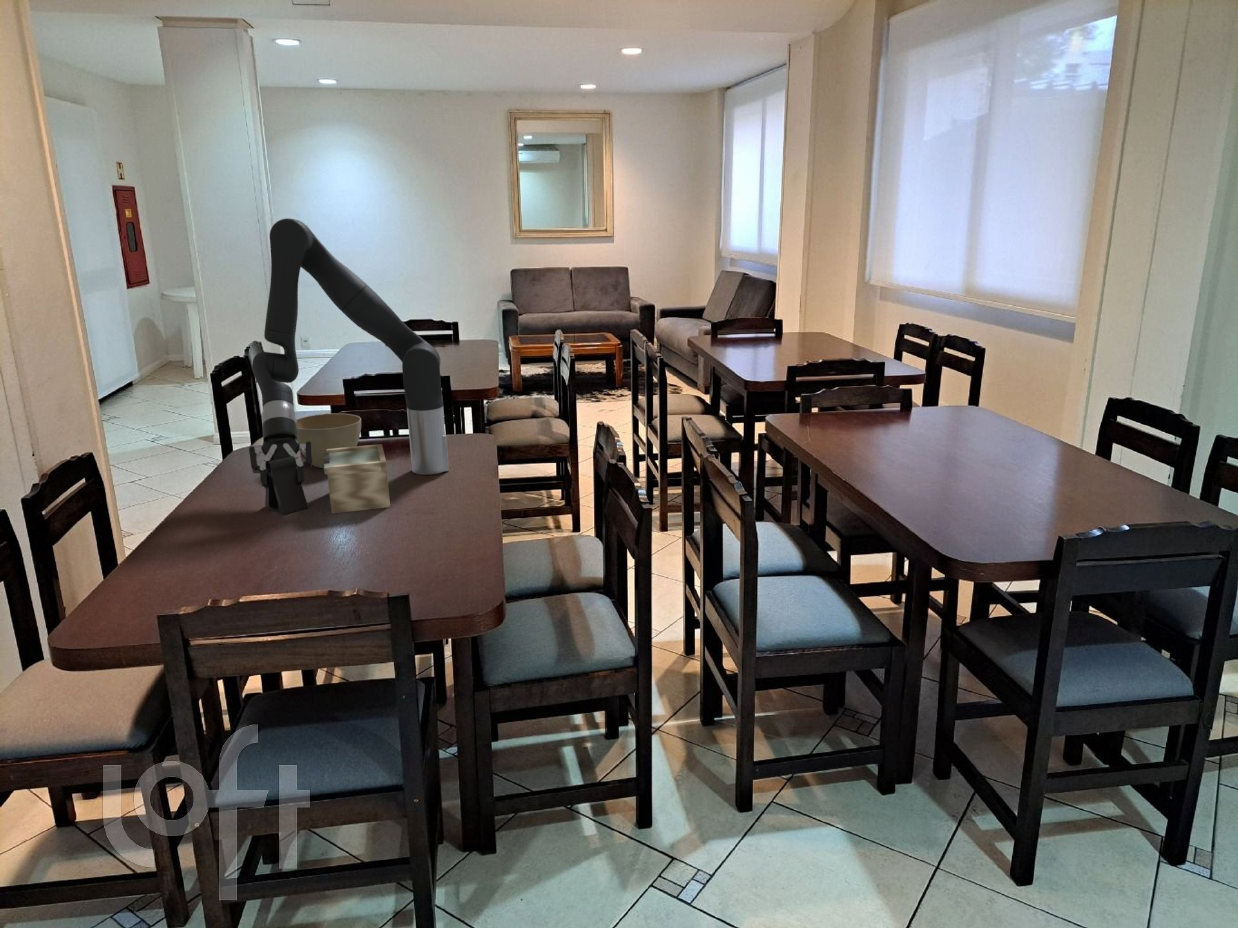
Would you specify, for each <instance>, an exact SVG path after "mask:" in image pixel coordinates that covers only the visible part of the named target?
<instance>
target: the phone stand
mask: <svg viewBox="0 0 1238 928" xmlns="http://www.w3.org/2000/svg"><path fill="white" fill-rule="evenodd" d="M265 466H266V473H267V480H268V488H266V489H265V496H264V497H265V498H264V499H265V501H264V506H265V507H266V508H268V509H270V510H272V511H275V512H276V513H279V514H280V513H281V515H283V516H284V515H288V514H292V513H295V512H298V511H299V512H300V511H303V510H306V509H308V508H309V505H308V501H307V499H306V498H307V497H306V494H305V492H304V488H303V484H302V485H299V484H298V475H297V466H296V460H295V457H294V456H291V455H290V456H286V457H281V458H277V459H273V460H269V461H266V463H265Z"/></svg>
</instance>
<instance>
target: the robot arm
mask: <svg viewBox="0 0 1238 928" xmlns="http://www.w3.org/2000/svg"><path fill="white" fill-rule="evenodd" d="M269 245H270V247H269V248H270V264H271V265H270V286H269V295H268V301H267V309H266V316H265V325H264V334H263V337H264V339H265V341H266V342H269V343H271V344H274V345H278V346H280V347H282V349H283V351H284V353H279V352H278V353H277V352H269V351H260V352H257V353H256V354H255V356H254V357H253V359H252V364H251V366H252V367H251V368H252V372H253V376H254V378H255V380H256V383H257V385H258V388H259V390H260V392H261V400H262V402H261V403H262V410H261V411H262V413H261V423H262V424H261V425H262V442H263V444H262V445H261V446H260V447H255V446H252V445H250V446H249V448H248V450H249V451H248V452H249V453H248V455H249V460H250V468H251V470H252V473H253V474H260V475H259V477H260V479H259V480H260V485H261V486H262V487H264V489H265V490H266V488H268V480H267V473H266V466H265V463H266V461H269V460H273V459H277V458H281V457H286V456H290V455H291V456H294V457H295V460H296V466H297V475H298V484H299V485H302V486H303V484H304V483H305V477H306V476H305V470H306V469H312V467H313V464H312V445H311V442H309V441H308V442H306V444H299V442H298V441H297V428H296V419H297V418H296V417H297V415H296V411H295V406H294V394H293V390H292V389H293V388H291V387H290V385H288V384H290V383H292V382H295V380H296V379H297V377H298V376H299V370H300V368H299V361H298V357H297V351H296V331H297V323H298V314H299V313H298V312H299V300H298V299H299V294H298V292H299V291H298V290H299V277H300V273H301V272H300V271H301V268H302V269H303V270H304V271H305V272H306V273H308V274H309V275H310V276H311V277H312V278H313V279H314V280H315V281H316V282H317V283H318V285H319V287H320V288H321V289H322V290H323V292H324V293H325V294H326V297H328V298H329V299H330V301H331V302H332V303H333V304H334V305H335V306H336V307H337V309H338V310H340V311H341V313H342V314H344V316H346V317H347V318H348V319H349V320H350V321H351V322H353V324H355V325H356V326H357V327H359V328H360V329H361V330H363V331H364V332H366V333H367V334H369V335H371V337H374V338H376V339H377V340H379V341H380V342H382V343H383V344H384V345H385V346H387V347H388V348H389V349H390V350H391V351H392V352H393V354H394V355H396V357H398V359H399V360H400V361H401V362H402V364H401V365H402V366H401V368H402V369H401V370H402V378H403V379H402V380H403V391H404V398H405V403H406V414H407V415H406V416H407V425H408V426H407V427H408V437H409V449H410V450H409V451H410V463H411V465H410V466H411V469H412V470H411V471H412V473H413V474H416V475H424V476H425V475H428V476H429V475H430V476H431V475H437V474H441V473H443V472H449V471H450V467H449V454H448V453H449V452H448V441H447V435H446V428H445V417H444V416H445V413H444V400H443V399H444V398H443V394H442V393H443V392H442V380H441V367H440V366H441V357H440V353H439V352H438V350H437V349H436V348H435V347H434V346H432V345H431V344H430V343H429V342H427V341H426V340H425V339H424V338H422V337H421V336H420V335H418V334H417V333H416V332H414V331H413V330H412V329H411V328H410V327H408V325H407V324H405V322H404V321H402V319H401V318H400V317H399V316H398V315H397V314H396V312H395V311H394V310H393V309H392V308H391V307H390V306H389V305H388V304H387V303H386V302H385V301H384V300H383V299H382V297H380V295H378V293H376V291H374V289H372V288H371V286H369V284H368V283H366V282H365V281H364V280H363V279H361V278H360V277H359V276H358V275H357V274H356V273H354V272H353V271H352V270H351V269H350V268H349V267H347V266H346V265H345V264H344V263H342V262H341V261H340V260H338V259H337V258H336V257H335V256H334V255H333V254H332V253H331V252H330V251H329V250H328V249H327V248H326V247H325V245H324V244H323V243H322V242H321V241H320V240H319V239H318V238H317V236H316V234H314V232H313V231H312V230H311V228H310V227H309V226H308V225H307V224H305V223H304V222H303V221H301V220H298V219H294V218H290V217H289V218H281V219H279V220H277V221H276V222H275V223H274V224H273V225H272V226H271V228H270V231H269ZM286 383H287V384H286ZM300 449H302V450H303V452H304V453H306V457H305V461H302V460H301V459H300V457H299V456H298V453H299V451H300ZM261 454H263V455H264V456H265V457H264V459H263V461H262V463H261V465H258V459H257V458H259V457H260V455H261Z"/></svg>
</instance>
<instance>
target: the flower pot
mask: <svg viewBox="0 0 1238 928" xmlns="http://www.w3.org/2000/svg"><path fill="white" fill-rule="evenodd" d="M296 428H297V441H298V442H299V444H306V442H308V441H309V442H311V445H312V466H313V467H316V468H320V469H324V459H323V457H324V453H327V451H326V449H333V448H344V447H355V446H358V443H359V440H360V436H361V429H362V418H361V417H360V416H359V415H355V414H349V413H322V414H321V413H320V414H314V415H308V416H303V417H299V418H296ZM299 451H300V453H301V454H302V456H304V457H305V458H306V453H304V452H303V450H302V449H300V450H299Z"/></svg>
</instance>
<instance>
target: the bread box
mask: <svg viewBox="0 0 1238 928" xmlns="http://www.w3.org/2000/svg"><path fill="white" fill-rule="evenodd" d="M326 451H327V453H324V457H323V459H324V468H323V471H324V472H323V473H324V475H327V484H328V491H329V492H328V493H329V501H330V509H331V514H340V513H341V514H342V513H349V512H357V511H358V512H359V511H366V510H375V509H376V510H377V509H384V508H390V507H391V503H390V502H391V499H390V490H389V481H388V480H389V479H388V469H387V461H386V456H385V452H384V448H383V444H382V443H381V444H380V443H379V444H368V445H357V446H355V447H344V448H333V449H326Z"/></svg>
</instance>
